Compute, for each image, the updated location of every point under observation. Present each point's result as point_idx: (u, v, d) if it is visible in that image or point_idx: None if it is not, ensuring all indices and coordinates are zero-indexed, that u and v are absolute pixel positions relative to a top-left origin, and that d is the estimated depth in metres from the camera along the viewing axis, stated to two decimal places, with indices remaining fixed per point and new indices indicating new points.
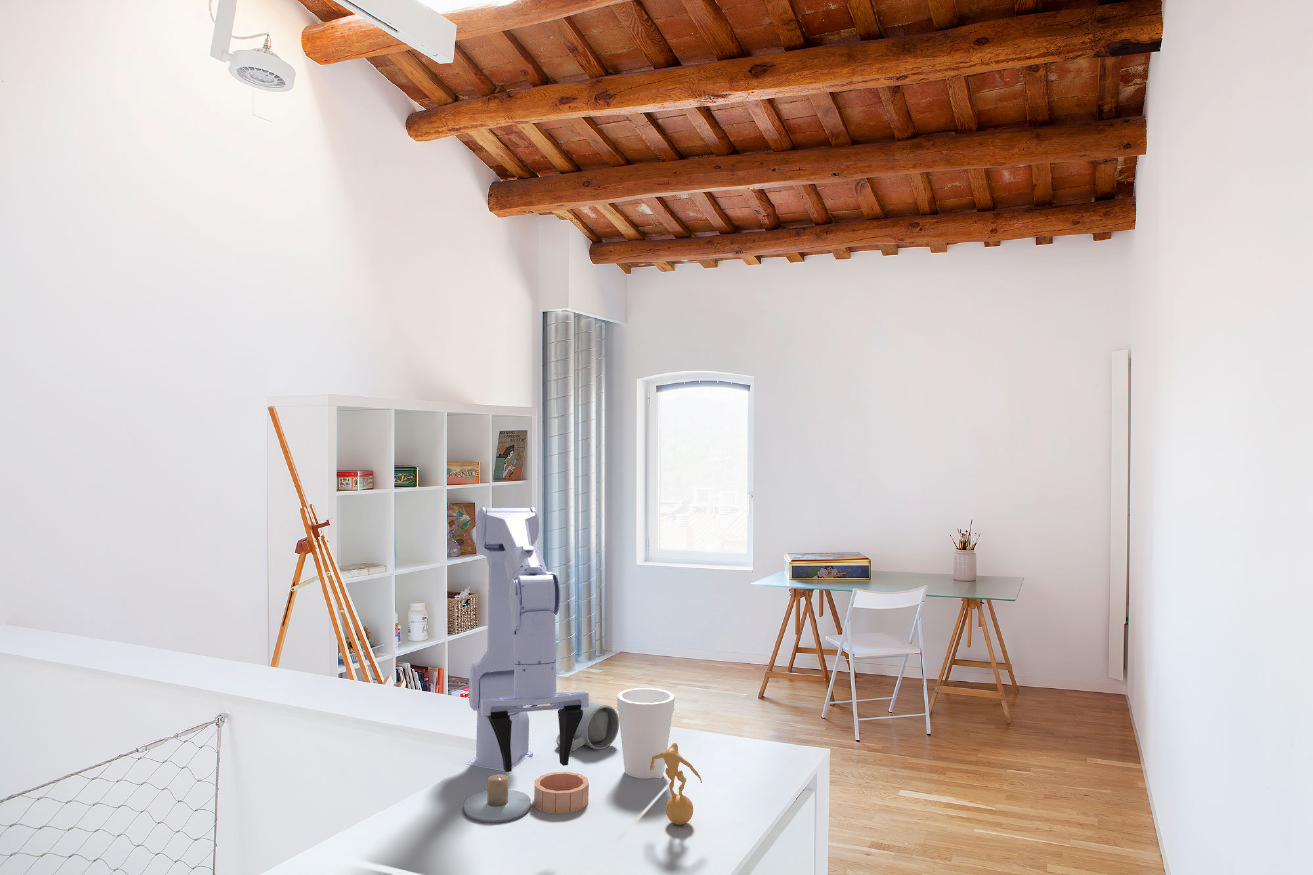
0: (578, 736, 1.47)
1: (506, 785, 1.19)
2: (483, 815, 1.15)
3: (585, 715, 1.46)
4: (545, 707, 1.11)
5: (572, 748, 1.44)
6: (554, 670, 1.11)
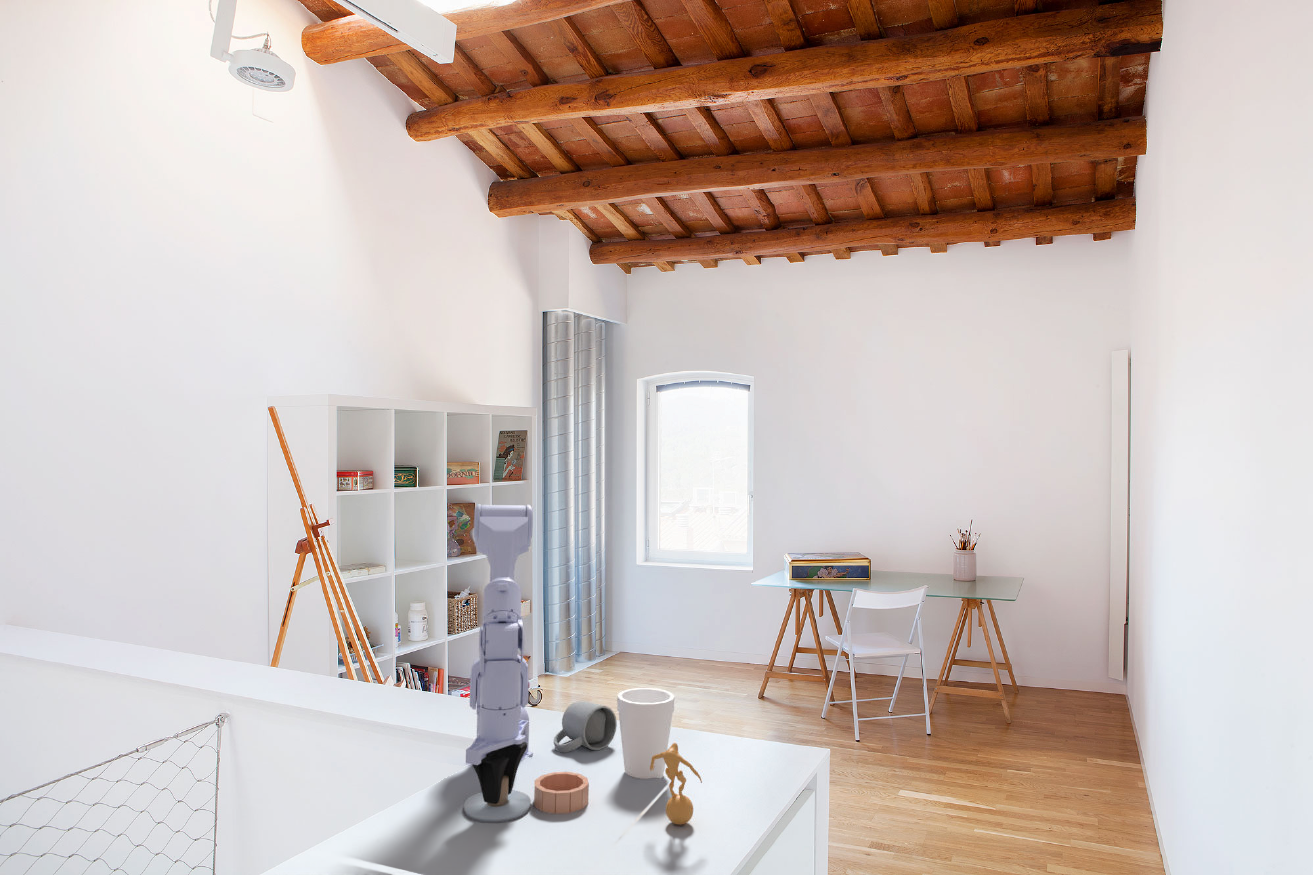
0: (575, 737, 1.46)
1: (506, 785, 1.19)
2: (483, 815, 1.15)
3: (582, 716, 1.46)
4: None
5: (569, 749, 1.44)
6: None
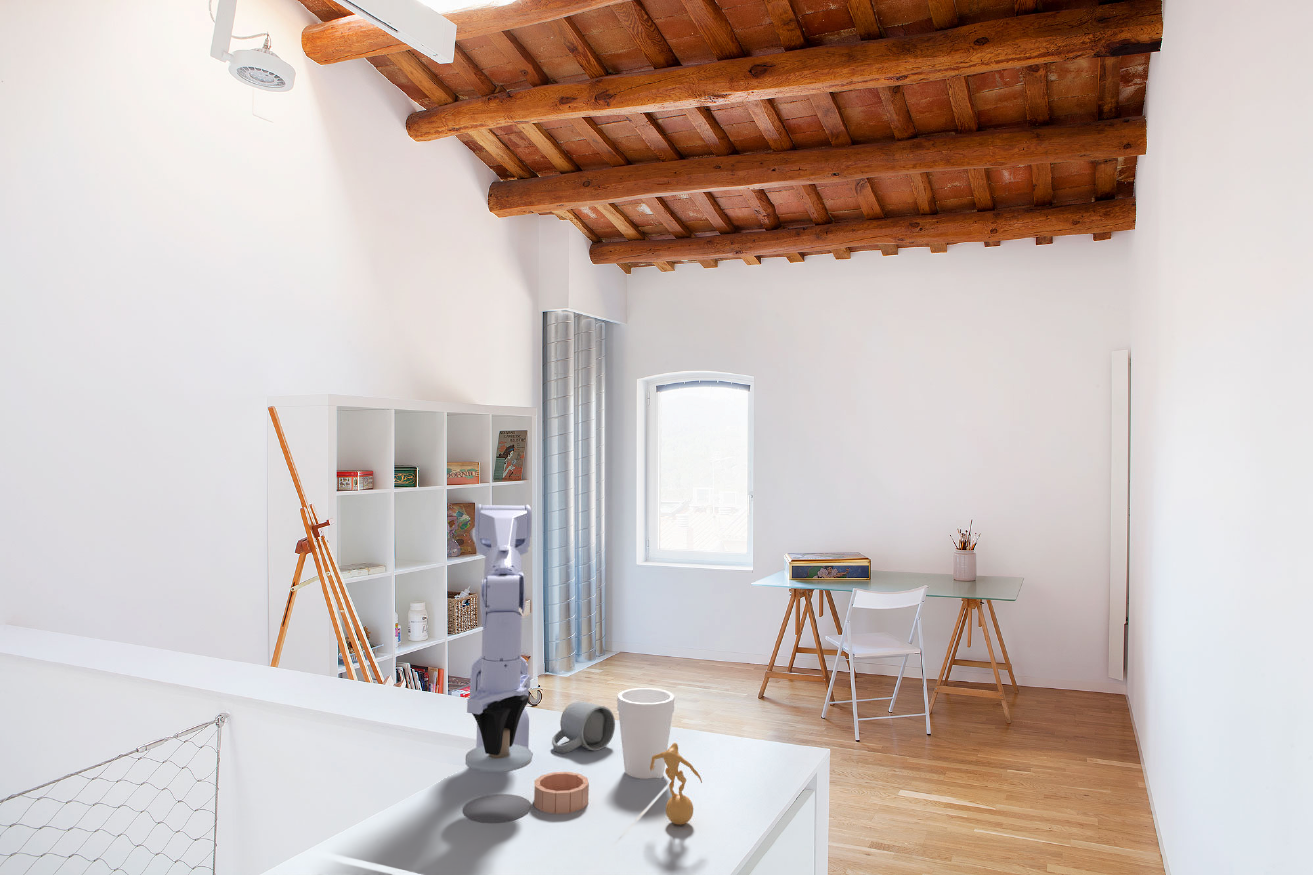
0: (574, 737, 1.46)
1: (507, 737, 1.19)
2: (484, 765, 1.15)
3: (580, 716, 1.46)
4: None
5: (568, 749, 1.44)
6: None
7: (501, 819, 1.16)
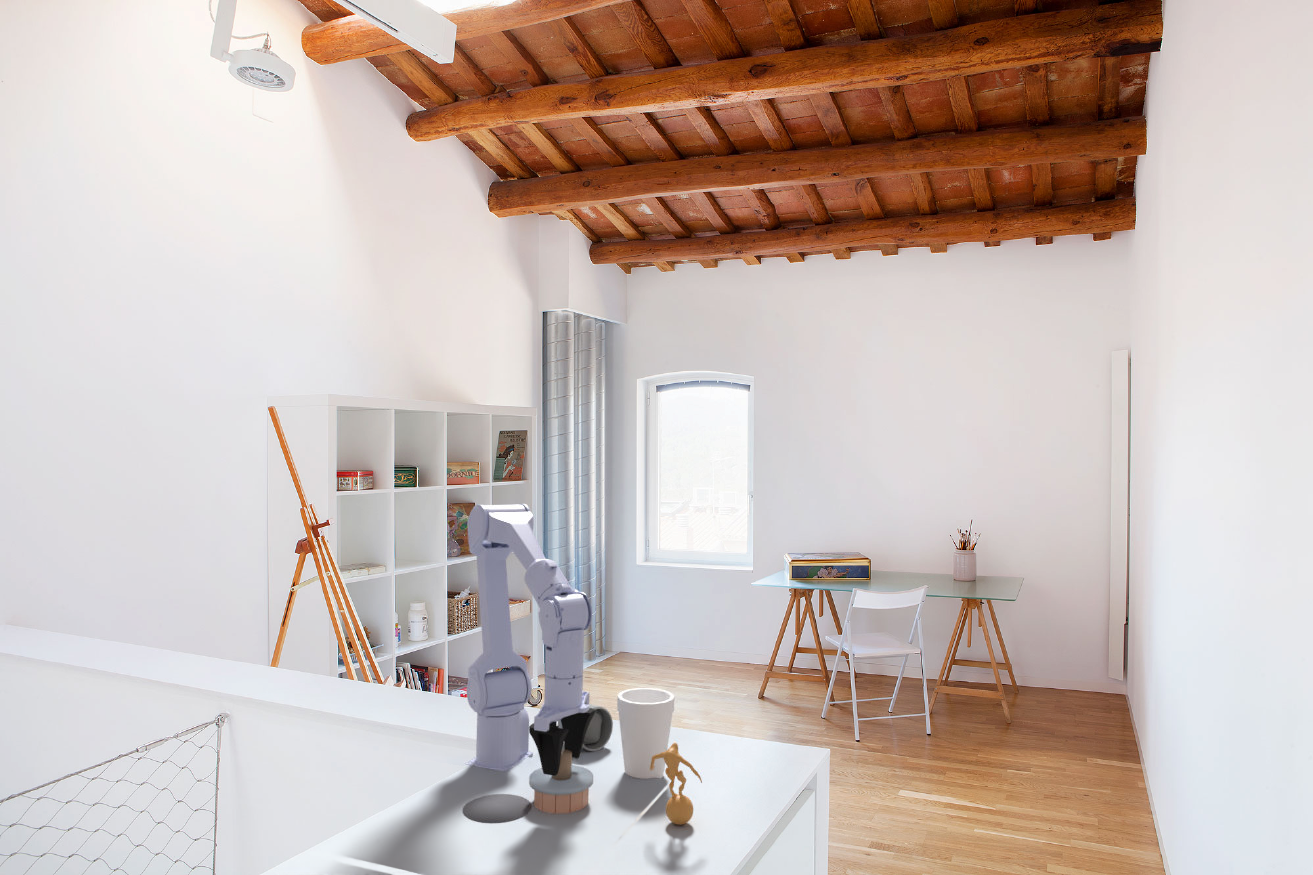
0: None
1: (570, 759, 1.22)
2: (551, 788, 1.18)
3: None
4: None
5: None
6: None
7: (501, 819, 1.16)
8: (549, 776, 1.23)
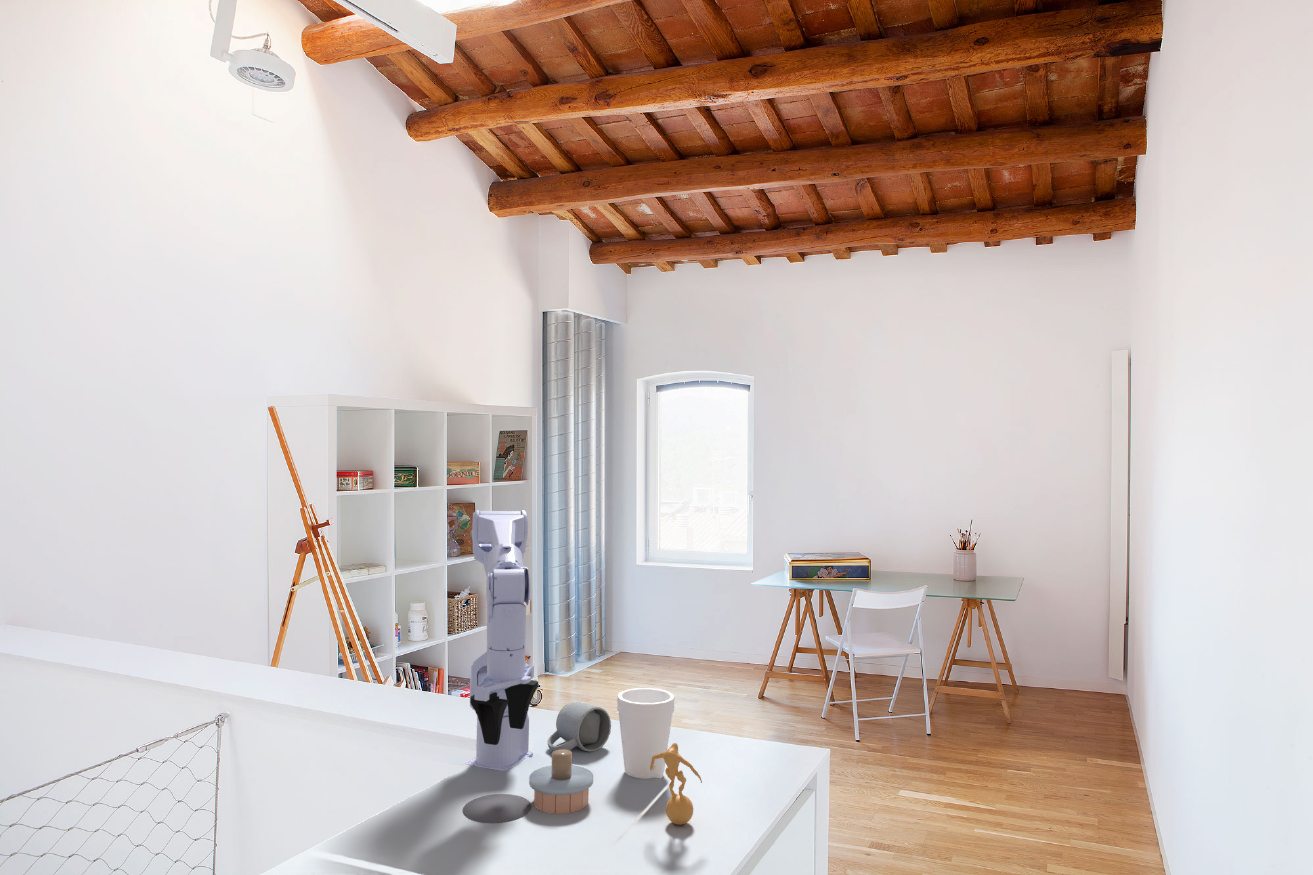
0: (569, 738, 1.46)
1: (570, 759, 1.22)
2: (551, 788, 1.18)
3: (576, 717, 1.45)
4: None
5: None
6: None
7: (501, 819, 1.16)
8: (549, 776, 1.23)
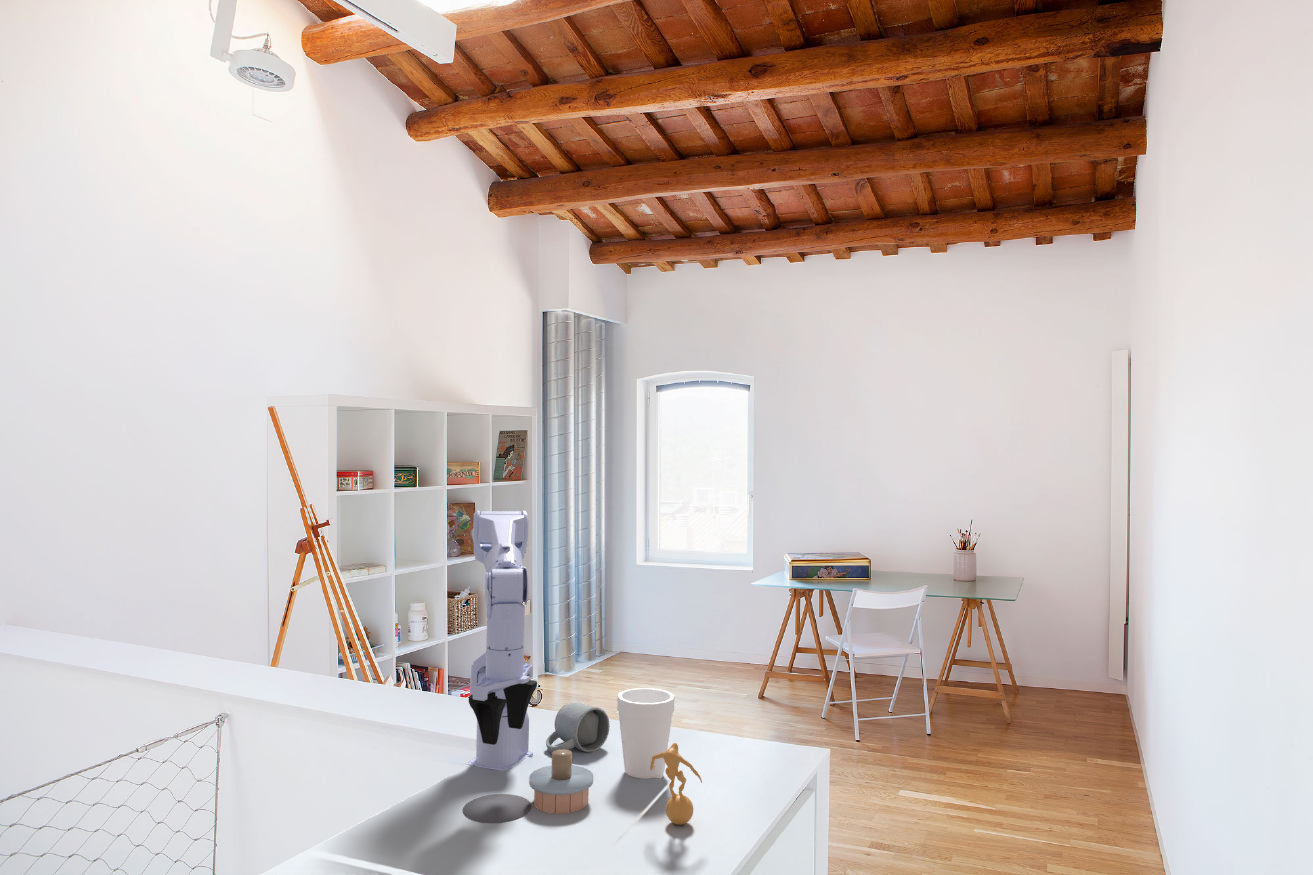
0: (568, 738, 1.45)
1: (570, 759, 1.22)
2: (551, 788, 1.18)
3: (574, 717, 1.45)
4: None
5: None
6: None
7: (501, 819, 1.16)
8: (549, 776, 1.23)
